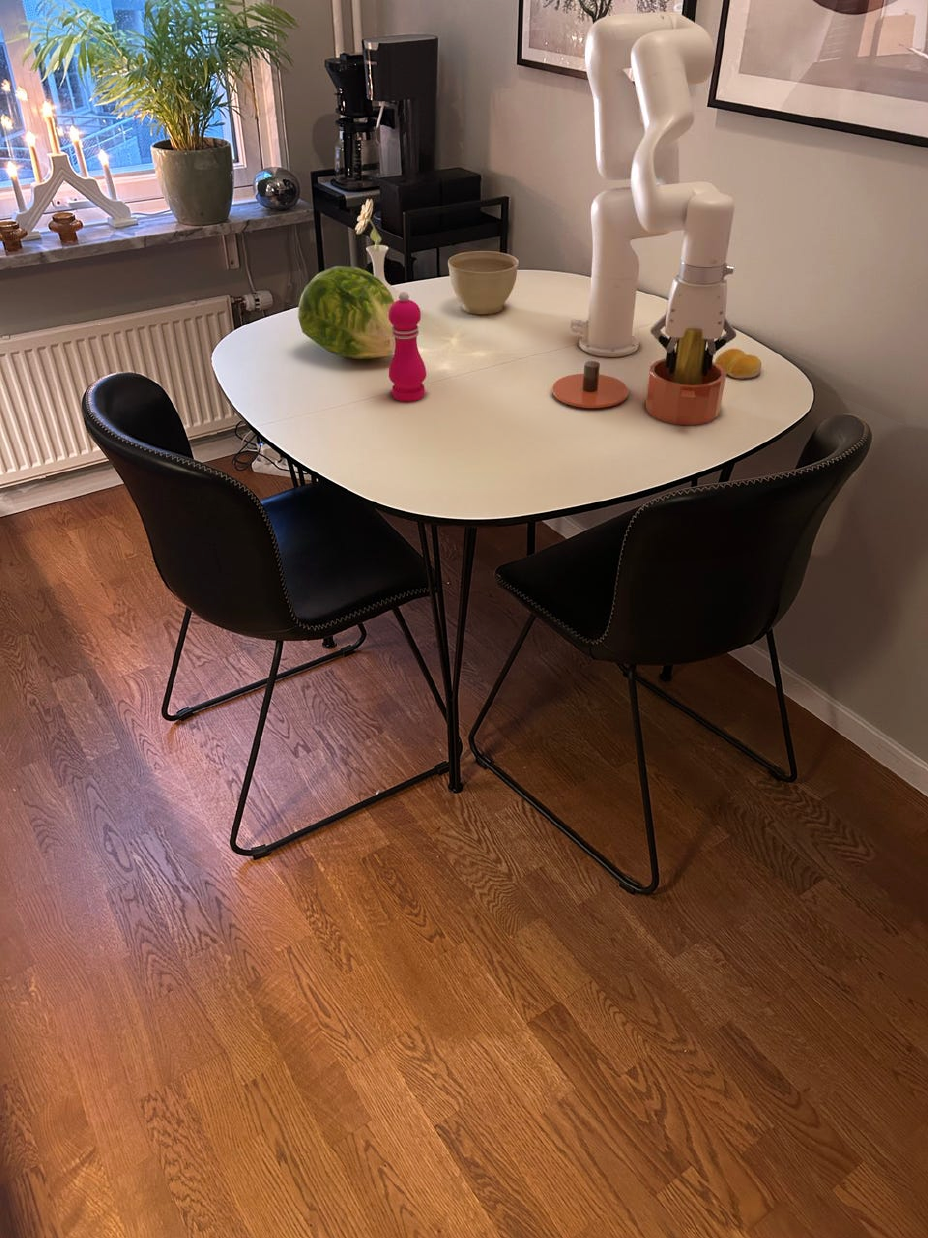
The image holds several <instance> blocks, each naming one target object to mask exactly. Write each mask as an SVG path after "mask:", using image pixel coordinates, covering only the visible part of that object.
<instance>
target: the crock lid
mask: <svg viewBox="0 0 928 1238" xmlns="http://www.w3.org/2000/svg"><path fill="white" fill-rule="evenodd" d="M583 363H584V364H583V373H576V374H575V373H574V374H570V375H566V376H563V377H561V378H559V379H557V380H556V381H555V382H554V383H553V385H552V387H551V391H552V395H553V396H554V397H555V398H556V399H557V400H558V401H560V402H562V403H564V404H566V405H568V406H569V405H570V406H573V407H578V408H584V409H585V408H587V409H600V408H607V407H612V406H615V405H618V404H620V403H622V402H624V401H625V400H626V399H627V397H628V395H629V388H628V386H627V385H626V384H625V382H624V381H622V380H619V379H618V378H615V377H612V376H610V375H605V374H600V368H601V364H600V362H598V361H596V360H595V361H594V360H588V361H585V362H583Z"/></svg>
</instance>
